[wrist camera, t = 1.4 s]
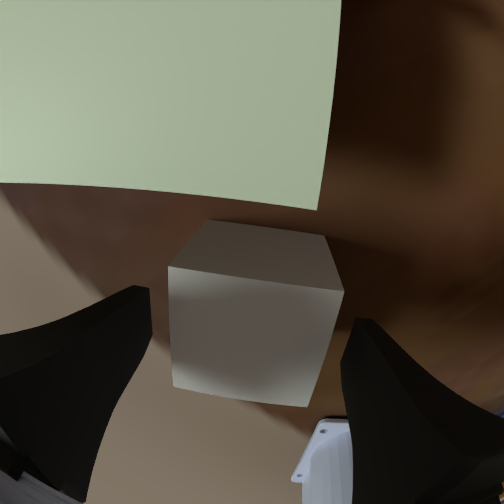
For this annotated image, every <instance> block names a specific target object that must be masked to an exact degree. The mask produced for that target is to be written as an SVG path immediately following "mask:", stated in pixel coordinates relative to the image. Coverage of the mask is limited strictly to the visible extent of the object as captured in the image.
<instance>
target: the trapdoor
mask: <svg viewBox="0 0 504 504" xmlns="http://www.w3.org/2000/svg"><path fill="white" fill-rule="evenodd" d="M340 13H341V0H0V182H5V183H44V184H68V185H86V186H102V187H117V188H130V189H143V190H154V191H165V192H176V193H186V194H195V195H205V196H214V197H222V198H231V199H239V200H247V201H255V202H262V203H270V204H277V205H284V206H291V207H298V208H305V209H311V210H317V205H318V199H319V193H320V187H321V180H322V174H323V167H324V161H325V154H326V147H327V140H328V132H329V125H330V117H331V109H332V100H333V91H334V82H335V73H336V63H337V52H338V40H339V28H340Z"/></svg>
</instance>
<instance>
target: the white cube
mask: <svg viewBox="0 0 504 504" xmlns="http://www.w3.org/2000/svg"><path fill="white" fill-rule="evenodd" d="M168 289H169V323H170V343H171V360H172V372H173V373H172V374H173V386H174V387H177V388H182V389H187V390H191V391H196V392H201V393H206V394H212V395H217V396H223V397H228V398H235V399H241V400H248V401H255V402H263V403H271V404H280V405H289V406H300V407H307V406H308V403H309V401H310V398H311V395H312V392H313V390H314V387H315V384H316V381H317V378H318V376H319V373H320V370H321V367H322V364H323V361H324V358H325V355H326V352H327V349H328V346H329V342H330V339H331V336H332V333H333V330H334V326H335V323H336V320H337V316H338V313H339V309H340V306H341V302H342V299H343V295H344V288H343V286H342V283H341V280H340V277H339V274H338V271H337V269H336V266H335V263H334V260H333V258H332V255H331V252H330V249H329V247H328V244H327V241H326V239H325V236H324V235H318V234H311V233H304V232H297V231H290V230H283V229H276V228H269V227H261V226H254V225H247V224H239V223H231V222H224V221H216V220H207V221H206V222H205V223H204V224H203V226H202V227H201V228H200V229H199V230H198V231H197V233H196V234H195V235H194V236H193V237H192V238H191V240H190V241H189V242H188V243H187V244H186V246H185V247H184V248H183V249H182V250H181V252H180V253H179V254H178V255H177V256H176V258H175V259H174V260H173V261H172V262H171V264H170V265H169V266H168Z"/></svg>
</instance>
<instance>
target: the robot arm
mask: <svg viewBox="0 0 504 504" xmlns="http://www.w3.org/2000/svg"><path fill="white" fill-rule="evenodd" d="M152 335H153V333H152V321H151V308H150V292H149V288H146V287H141V286H136V285H133V286H130V287H128V288H126V289H123V290H121V291H119V292H117V293H115V294H113V295H111V296H109V297H107V298H105V299H103V300H101V301H99V302H97V303H95V304H93V305H91V306H89V307H87V308H84V309H82V310H80V311H77V312H75V313H73V314H71V315H69V316H66V317H64V318H61V319H59V320H56V321H53V322H50V323H47V324H44V325H41V326H38V327H34V328H31V329H26V330H22V331H18V332H14V333H9V334H3V335H0V504H83V503H84V502H86V497H87V492H88V487H89V483H90V478H91V474H92V470H93V467H94V463H95V460H96V457H97V453H98V449H99V447H100V444H101V441H102V438H103V435H104V432H105V430H106V427H107V425H108V422H109V420H110V417H111V415H112V412H113V410H114V408H115V406H116V404H117V402H118V400H119V398H120V396H121V395H122V393H123V391H124V389H125V388H126V386H127V384H128V383H129V381H130V379H131V378H132V376H133V374H134V372H135V371H136V369H137V367H138V365H139V364H140V362H141V360H142V358H143V357H144V354H145V352H146V349H147V347H148V345H149V342H150V340H151V337H152ZM340 365H341V383H342V391H343V396H344V401H345V407H346V412H347V417H348V419H322V420H320V421H319V422H318V424H317V426H316V429H315V431H314V433H313V435H312V437H311V439H310V441H309V443H308V445H307V447H306V450H305V451H304V453H303V455H302V457H301V459H300V461H299V463H298V465H297V467H296V469H295V471H294V473H293V475H292V476H291V481H293V482H302V483H303V490H302V504H504V500H503V501H502V502H500V499H499V496H498V495H501V494H502V493H503V491H504V489H503V486H502V482H503V481H504V418H501V417H499V416H497V415H495V414H492V413H490V412H488V411H486V410H484V409H482V408H480V407H478V406H476V405H475V404H473V403H471V402H469V401H468V400H466V399H464V398H463V397H461V396H460V395H458V394H456V393H455V392H453V391H452V390H450V389H449V388H448V387H446V386H445V385H444V384H442V383H441V382H440V381H438V380H437V379H436V378H434V377H433V376H432V375H431V374H429V373H428V372H427V371H426V370H425V369H424V368H423V367H421V366H420V365H419V364H418V363H417V362H416V361H415V360H414V359H413V358H412V357H410V356H409V355H408V354H407V353H406V352H405V351H404V350H403V349H402V348H401V347H400V346H399V345H398V344H397V343H396V342H395V341H394V340H393V339H392V338H391V337H390V336H389V335H388V334H387V333H386V332H385V331H384V330H383V329H382V328H381V327H380V326H379V325H378V324H377V323H376V322H375V321H374V320H372V319H364V318H356V319H355V322H354V325H353V328H352V331H351V334H350V337H349V339H348V342H347V345H346V348H345V351H344V353H343V356H342V359H341V362H340Z"/></svg>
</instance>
